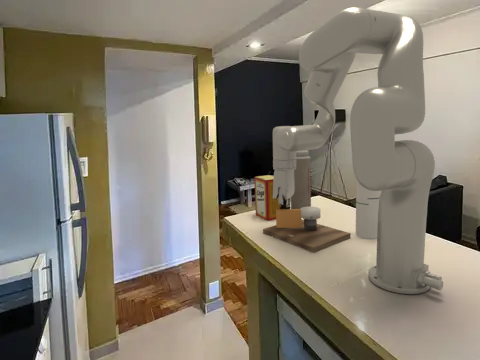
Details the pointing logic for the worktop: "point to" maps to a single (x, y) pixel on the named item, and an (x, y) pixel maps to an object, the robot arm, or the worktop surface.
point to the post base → (309, 235)
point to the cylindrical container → (366, 212)
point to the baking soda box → (265, 198)
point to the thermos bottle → (302, 181)
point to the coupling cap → (295, 216)
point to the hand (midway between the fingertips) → (285, 217)
